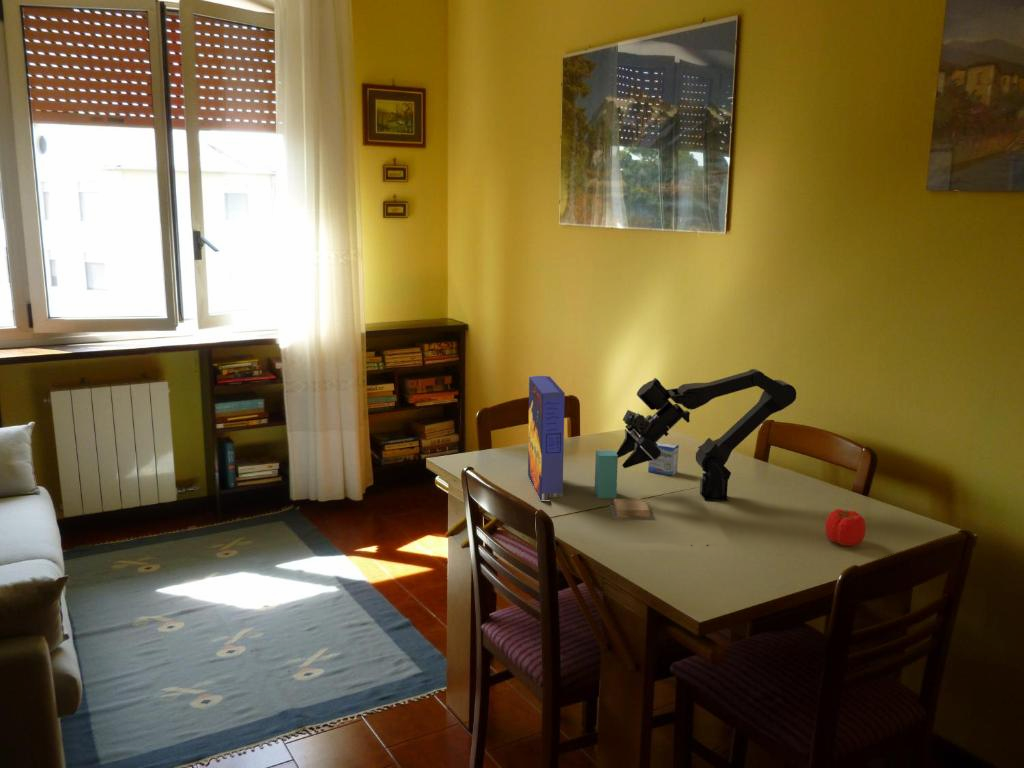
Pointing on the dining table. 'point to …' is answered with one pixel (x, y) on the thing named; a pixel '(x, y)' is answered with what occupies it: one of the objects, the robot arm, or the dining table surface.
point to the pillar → (606, 474)
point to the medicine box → (665, 460)
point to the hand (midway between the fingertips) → (619, 461)
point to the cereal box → (546, 437)
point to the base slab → (625, 518)
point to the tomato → (845, 527)
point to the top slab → (631, 508)
